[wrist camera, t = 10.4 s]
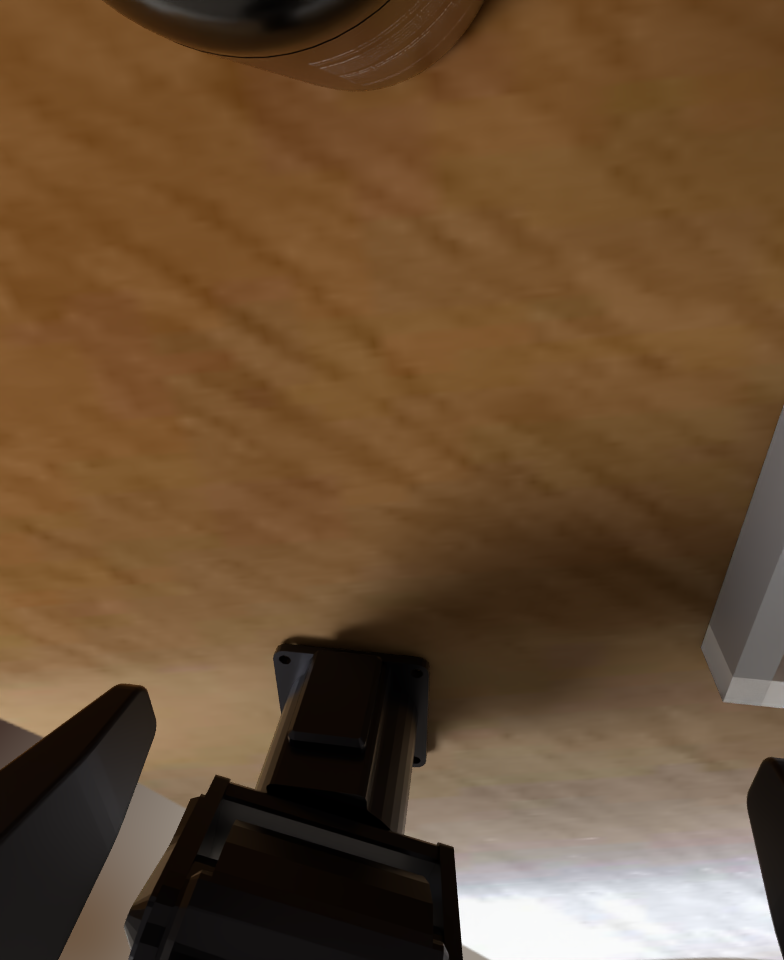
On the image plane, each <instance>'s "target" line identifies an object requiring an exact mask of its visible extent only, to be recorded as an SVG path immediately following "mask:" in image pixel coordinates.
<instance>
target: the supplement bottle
mask: <svg viewBox="0 0 784 960" xmlns="http://www.w3.org/2000/svg"><path fill="white" fill-rule="evenodd" d="M102 1H104V2H105V3H107V4H108V5H109V6H111V7H112V8H113V9H115V10H116V11H117V12H119V13H120V14H122V15H123V16H125V17H127V18H128V19H130V20H132V21H133V22H135V23H137V24H138V25H140V26H142V27H144V28H146V29H148V30H150V31H152V32H154V33H156V34H158V35H161V36H163V37H165V38H167V39H169V40H171V41H173V42H176V43H178V44H180V45H183V46H186V47H189V48H192V49H195V50H198V51H201V52H204V53H207V54H210V55H214V56H217V57H221V58H224V59H227V60H231V61H234V62H238V63H241V64H245V65H248V66H251V67H255V68H258V69H262V70H265V71H269V72H272V73H276V74H279V75H282V76H286V77H289V78H293V79H296V80H300V81H303V82H307V83H310V84H313V85H317V86H322V87H327V88H332V89H336V90H344V91H369V90H376V89H381V88H385V87H389V86H393V85H396V84H398V83H401V82H403V81H406V80H408V79H410V78H412V77H414V76H416V75H418V74H419V73H421V72H422V71H424V70H425V69H427V68H428V67H430V66H431V65H433V64H434V63H435V62H436V61H437V60H439V59H440V58H441V57H442V56H443V55H444V54H445V53H446V52H447V51H448V50H449V49H450V48H451V47H452V46H453V45H454V44H455V43H456V42H457V41H458V40H459V38H460V37H461V36H462V35H463V34H464V32H465V31H466V30H467V28H468V27H469V25H470V24H471V22H472V21H473V19H474V18H475V16H476V15H477V13H478V11H479V9H480V8H481V6H482V4H483V2H484V0H102Z"/></svg>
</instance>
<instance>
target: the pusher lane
mask: <svg viewBox="0 0 784 960" xmlns="http://www.w3.org/2000/svg"><path fill="white" fill-rule="evenodd" d="M701 649H702V652H703V654H704V657H705V659H706V662H707V664H708V666H709V669H710V671H711V674H712V676H713V679H714V681H715V684H716V686H717V688H718V691H719V693H720V696H721V698H722V701H723V702H727V703H737V704H747V705H756V706H766V707H776V708H784V406H783V409H782V412H781V414H780V417H779V420H778V423H777V426H776V429H775V432H774V435H773V438H772V441H771V444H770V447H769V450H768V453H767V455H766V458H765V461H764V464H763V467H762V470H761V473H760V476H759V479H758V482H757V485H756V488H755V491H754V494H753V497H752V499H751V502H750V505H749V508H748V511H747V514H746V517H745V520H744V523H743V526H742V529H741V532H740V535H739V538H738V540H737V543H736V546H735V549H734V552H733V555H732V558H731V561H730V564H729V567H728V570H727V573H726V576H725V579H724V581H723V584H722V587H721V590H720V593H719V596H718V599H717V602H716V605H715V608H714V611H713V614H712V617H711V620H710V622H709V625H708V628H707V631H706V634H705V637H704V640H703V643H702V646H701Z"/></svg>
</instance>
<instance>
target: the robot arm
mask: <svg viewBox="0 0 784 960" xmlns="http://www.w3.org/2000/svg"><path fill="white" fill-rule="evenodd" d="M284 655H285V656H284ZM286 656H288V657H286ZM273 661H274V667H275V674H276V681H277V688H278V695H279V702H280V709H281V717H280V720H279V723H278V726H277V729H276V731H275V734H274V737H273V740H272V743H271V745H270V748H269V751H268V754H267V757H266V759H265V762H264V765H263V768H262V771H261V773H260V776H259V779H258V782H257V785H256V787H255V789H252V788H249V787H245V786H242V785H239V784H235V783H232V782H230V780H231V779H229V778H226V777H222V776H219V775H215V777H214V779H213V781H212V783H211V785H210V788H209V790H208V792H207V793H206V795H203V794H201V795H200V797H196V798H192V799H190V801H189V804H188V806H187V808H186V810H185V813H184V815H183V817H182V819H181V822H180V824H179V826H178V828H177V830H176V833H175V835H174V837H173V839H172V841H171V843H170V845H169V847H168V848H167V850H166V852H165V854H164V856H163V857H162V859H161V860H160V862H159V863H158V865H157V867H156V868H155V870H154V871H153V873H152V875H151V876H150V878H149V880H148V881H147V883H146V884H145V886H144V888H143V889H142V891H141V892H140V894H139V895H138V897H137V899H136V900H135V902H134V904H133V905H132V907H131V909H130V911H129V914H128V916H127V919H126V922H125V925H124V930H125V933H126V936H127V939H128V943H129V946H130V950H131V952H130V956H129V960H463V956H462V943H461V931H460V919H459V907H458V894H457V882H456V870H455V858H454V848H453V847H452V846H449V845H445V844H442V843H439V842H438V843H437V845H436V844H432V843H429V842H426V841H422V840H419V839H416V838H413V837H409V836H406V835H404V830H405V822H406V814H407V806H408V798H409V789H410V781H411V773H412V767H421V766H423V765H424V764H425V763H426V756H427V733H428V704H429V676H430V666H429V663H428V662H427V661H426V660H424V659H423V658H419V657H410V656H400V655H390V654H380V653H370V652H360V651H350V650H341V649H331V648H321V647H311V646H301V645H291V644H282V645H279V646H278V647H277V649H276V651H275V653H274V657H273ZM414 669H418V671H417V670H414ZM155 732H156V718H155V715H154V711H153V708H152V705H151V701H150V698H149V694H148V691H147V689H146V688H145V687H144V686H141V685H132V684H118V685H116V686H114V687H112V688H111V689H110V690H108V691H107V692H106V693H104V694H103V695H101V696H100V697H99V698H97V699H96V700H95V701H93V702H92V703H91V704H89V705H88V706H86V707H85V708H84V709H82V710H81V711H80V712H78V713H77V714H76V715H74V716H73V717H71V718H70V719H69V720H67V721H66V722H65V723H63V724H62V725H61V726H59V727H58V728H57V729H55V730H54V731H52V732H51V733H50V734H48V735H47V736H46V737H44V738H43V739H42V740H40V741H39V742H37V743H36V744H35V745H33V746H32V747H31V748H29V749H28V750H27V751H25V752H24V753H23V754H21V755H20V756H18V757H17V758H16V759H14V760H13V761H12V762H10V763H9V764H8V765H6V766H5V767H3V768H2V769H1V770H0V960H58V959H59V957H60V955H61V953H62V951H63V949H64V946H65V945H66V942H67V940H68V938H69V936H70V934H71V932H72V930H73V928H74V926H75V924H76V922H77V919H78V917H79V915H80V913H81V911H82V909H83V907H84V905H85V903H86V901H87V898H88V897H89V894H90V893H91V890H92V888H93V886H94V884H95V882H96V880H97V878H98V876H99V874H100V872H101V870H102V867H103V866H104V863H105V861H106V859H107V857H108V855H109V853H110V851H111V849H112V846H113V844H114V842H115V840H116V838H117V835H118V833H119V830H120V828H121V825H122V823H123V820H124V818H125V815H126V812H127V809H128V806H129V804H130V801H131V798H132V796H133V793H134V790H135V787H136V785H137V782H138V780H139V777H140V774H141V771H142V769H143V766H144V763H145V760H146V758H147V755H148V752H149V750H150V747H151V744H152V741H153V739H154V736H155ZM747 809H748V815H749V819H750V824H751V828H752V833H753V837H754V842H755V846H756V851H757V855H758V860H759V864H760V869H761V873H762V878H763V882H764V887H765V891H766V896H767V900H768V905H769V909H770V914H771V918H772V922H773V926H774V930H775V934H776V937H777V940H778V944H779V947H780V950H781V953H782V957H783V960H784V759H782V758H774V757H768V758H766V759H765V760H763V762H762V763H761V765H760V767H759V770H758V772H757V774H756V776H755V778H754V780H753V782H752V784H751V786H750V789H749V791H748V794H747Z"/></svg>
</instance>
